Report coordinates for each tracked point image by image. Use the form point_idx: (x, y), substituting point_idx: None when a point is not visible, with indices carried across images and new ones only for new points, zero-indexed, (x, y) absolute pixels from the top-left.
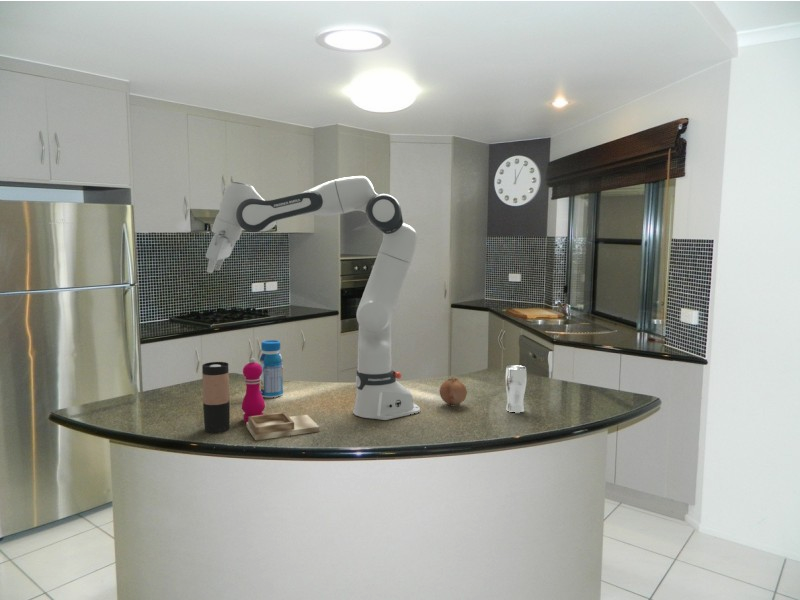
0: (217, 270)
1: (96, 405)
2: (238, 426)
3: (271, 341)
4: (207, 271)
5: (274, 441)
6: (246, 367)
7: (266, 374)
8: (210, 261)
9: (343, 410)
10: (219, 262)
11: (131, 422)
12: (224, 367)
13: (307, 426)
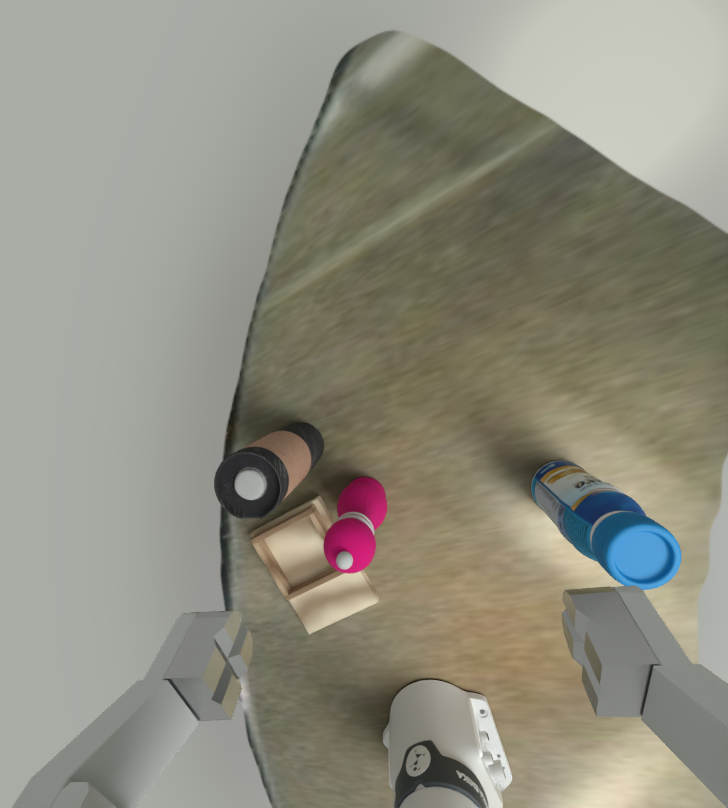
0: (563, 623)
1: (438, 83)
2: (322, 478)
3: (670, 552)
4: (186, 619)
5: (254, 561)
6: (328, 540)
7: (553, 503)
8: (41, 804)
9: (443, 659)
10: (704, 753)
11: (323, 252)
12: (236, 515)
13: (307, 613)
